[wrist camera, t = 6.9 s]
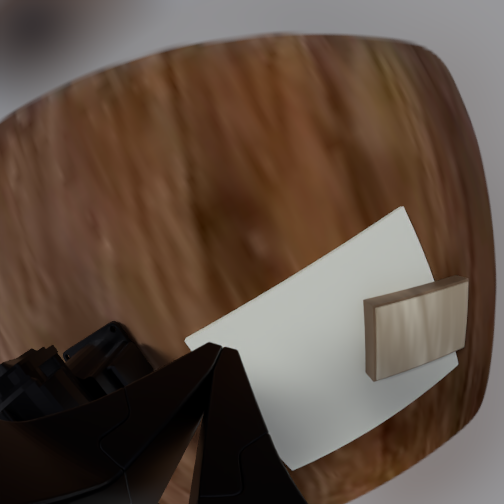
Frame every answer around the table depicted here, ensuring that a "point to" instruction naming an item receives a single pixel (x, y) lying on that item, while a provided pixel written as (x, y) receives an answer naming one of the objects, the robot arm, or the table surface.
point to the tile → (414, 326)
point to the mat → (327, 343)
